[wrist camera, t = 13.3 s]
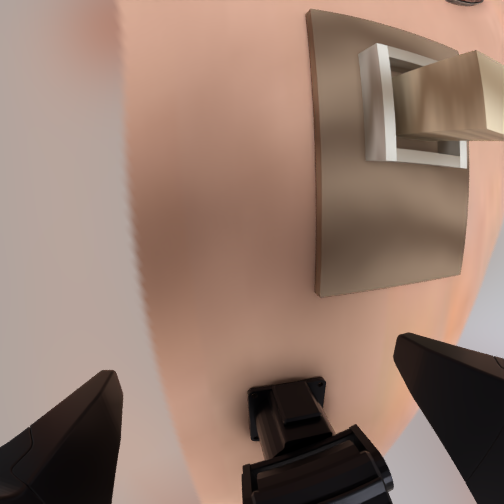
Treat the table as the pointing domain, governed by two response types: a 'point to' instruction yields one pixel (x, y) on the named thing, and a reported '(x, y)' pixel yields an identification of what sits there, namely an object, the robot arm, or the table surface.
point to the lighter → (465, 2)
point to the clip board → (379, 164)
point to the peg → (451, 100)
